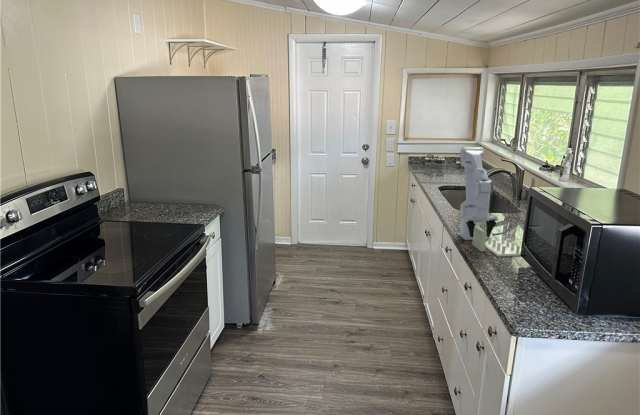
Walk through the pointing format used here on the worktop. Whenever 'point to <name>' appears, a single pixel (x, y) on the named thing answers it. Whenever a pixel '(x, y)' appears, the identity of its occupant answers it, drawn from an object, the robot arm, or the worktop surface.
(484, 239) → the pale green tall block
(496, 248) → the rack
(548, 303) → the worktop surface
